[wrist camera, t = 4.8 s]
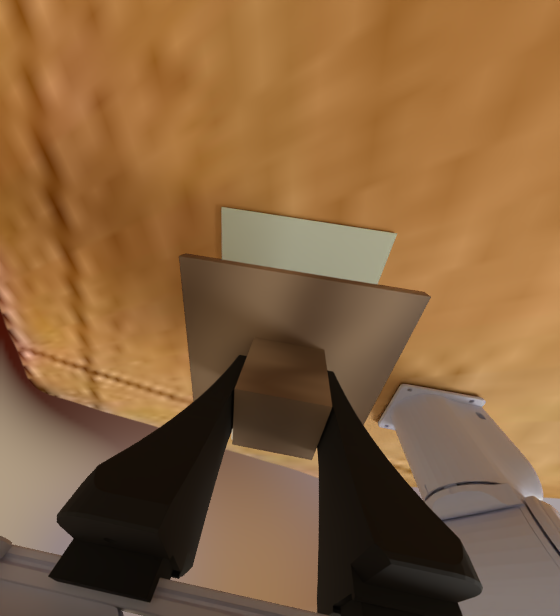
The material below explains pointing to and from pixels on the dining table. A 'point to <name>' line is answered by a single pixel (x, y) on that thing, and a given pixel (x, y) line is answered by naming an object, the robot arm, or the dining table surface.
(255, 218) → the beige flat square piece
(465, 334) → the dining table surface
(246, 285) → the lid
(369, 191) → the dining table surface
